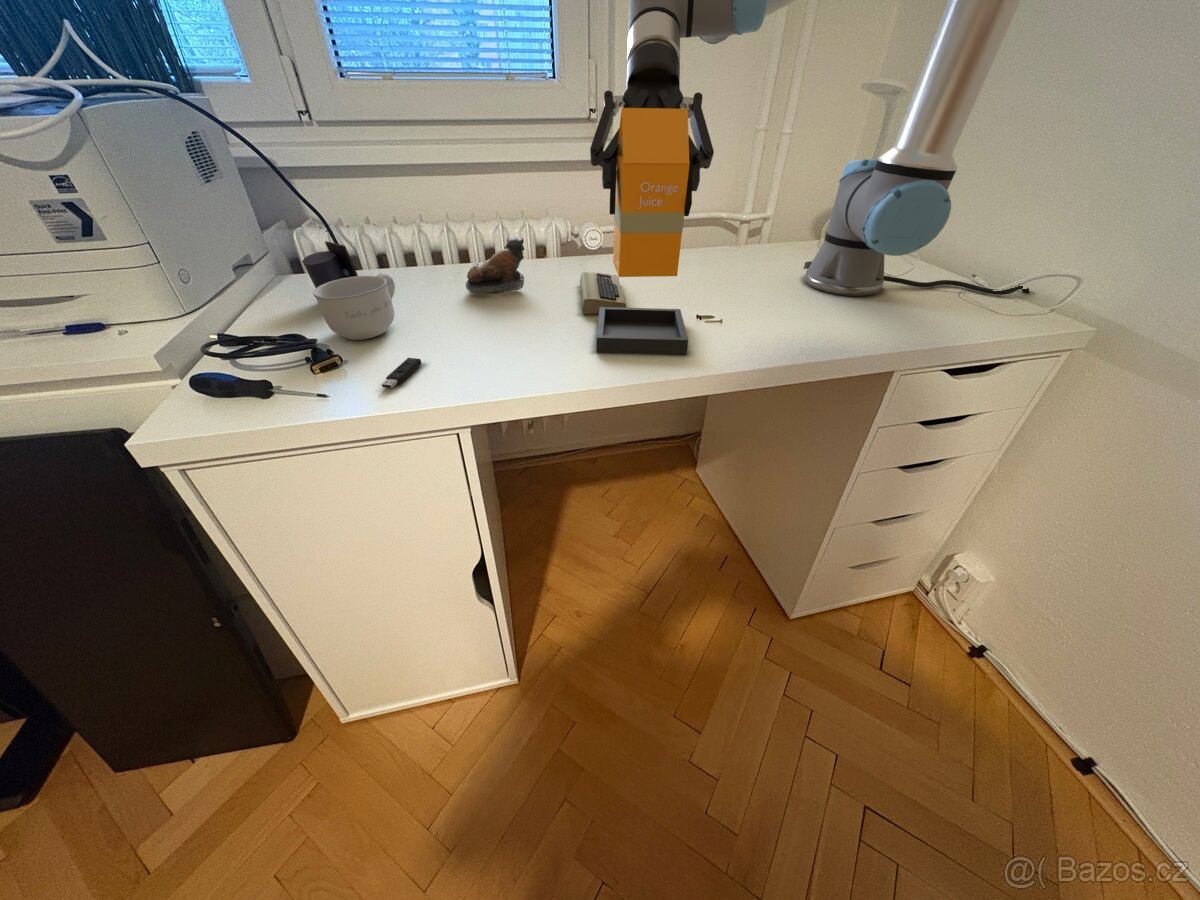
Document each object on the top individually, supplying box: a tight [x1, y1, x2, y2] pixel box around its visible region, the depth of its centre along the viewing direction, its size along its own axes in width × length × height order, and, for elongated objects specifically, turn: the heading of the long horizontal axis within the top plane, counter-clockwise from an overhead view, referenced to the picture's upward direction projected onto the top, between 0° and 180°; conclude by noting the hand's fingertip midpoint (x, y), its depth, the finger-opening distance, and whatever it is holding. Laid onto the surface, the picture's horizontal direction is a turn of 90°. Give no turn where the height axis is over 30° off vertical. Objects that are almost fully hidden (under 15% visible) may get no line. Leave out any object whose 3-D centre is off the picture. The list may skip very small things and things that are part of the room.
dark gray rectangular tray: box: [595, 307, 689, 356], centre depth 79 cm, size 14×13×2 cm
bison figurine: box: [465, 236, 525, 295], centre depth 93 cm, size 12×7×10 cm, turn 103°
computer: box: [579, 271, 627, 315], centre depth 93 cm, size 16×8×3 cm, turn 3°
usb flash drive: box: [381, 357, 422, 389], centre depth 67 cm, size 8×2×1 cm, turn 170°
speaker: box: [301, 240, 359, 289], centre depth 88 cm, size 8×6×10 cm
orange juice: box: [612, 107, 690, 278], centre depth 67 cm, size 8×9×20 cm
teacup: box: [312, 273, 396, 341], centre depth 78 cm, size 14×11×8 cm
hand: (649, 209), depth 65 cm, fingers closed on orange juice, 9 cm apart
